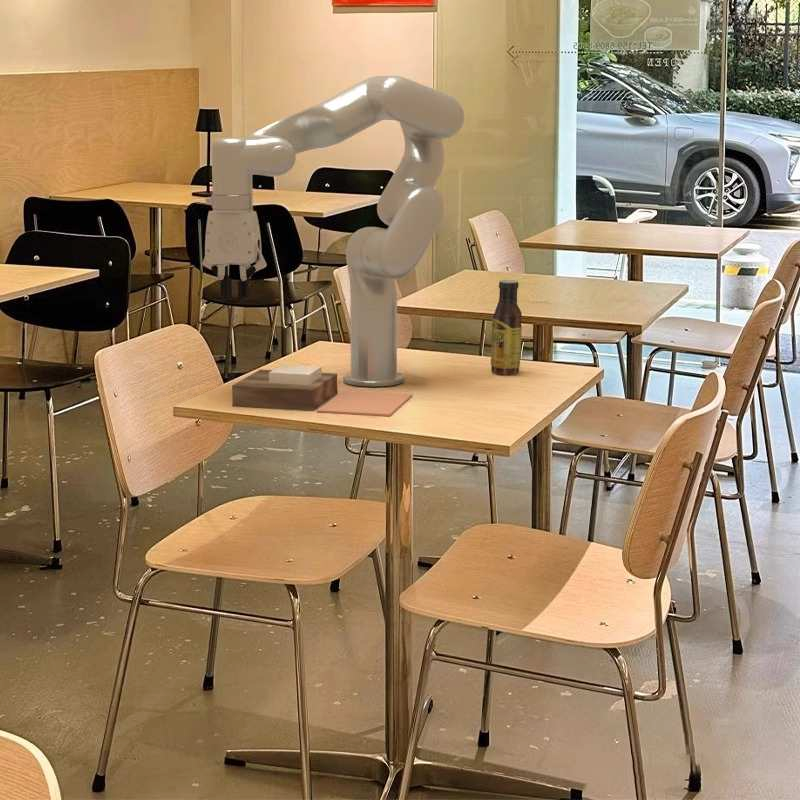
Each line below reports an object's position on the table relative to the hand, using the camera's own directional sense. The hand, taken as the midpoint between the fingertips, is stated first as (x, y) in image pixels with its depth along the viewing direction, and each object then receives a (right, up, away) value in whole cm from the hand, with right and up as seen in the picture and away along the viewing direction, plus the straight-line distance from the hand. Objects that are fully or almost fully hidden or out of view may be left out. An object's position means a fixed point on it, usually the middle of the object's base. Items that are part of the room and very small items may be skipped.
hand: (235, 299), depth 262 cm
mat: (+25, -20, -2) cm, 32 cm away
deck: (+10, -19, +2) cm, 22 cm away
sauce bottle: (+54, -14, +27) cm, 62 cm away
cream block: (+12, -15, 0) cm, 19 cm away
